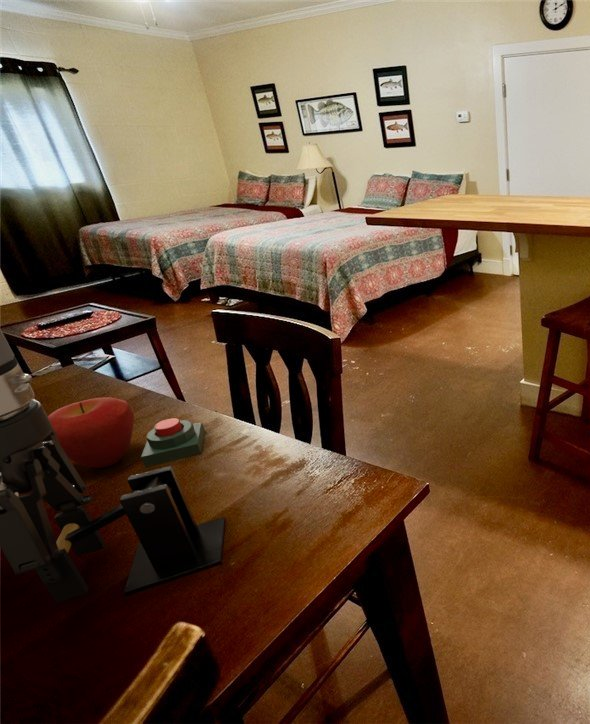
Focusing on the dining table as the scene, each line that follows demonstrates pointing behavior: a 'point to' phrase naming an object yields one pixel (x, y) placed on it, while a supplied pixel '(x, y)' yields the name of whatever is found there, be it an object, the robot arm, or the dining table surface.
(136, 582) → the bracket
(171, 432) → the button
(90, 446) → the apple
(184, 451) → the button box
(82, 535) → the lever
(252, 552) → the dining table surface
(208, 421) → the dining table surface
